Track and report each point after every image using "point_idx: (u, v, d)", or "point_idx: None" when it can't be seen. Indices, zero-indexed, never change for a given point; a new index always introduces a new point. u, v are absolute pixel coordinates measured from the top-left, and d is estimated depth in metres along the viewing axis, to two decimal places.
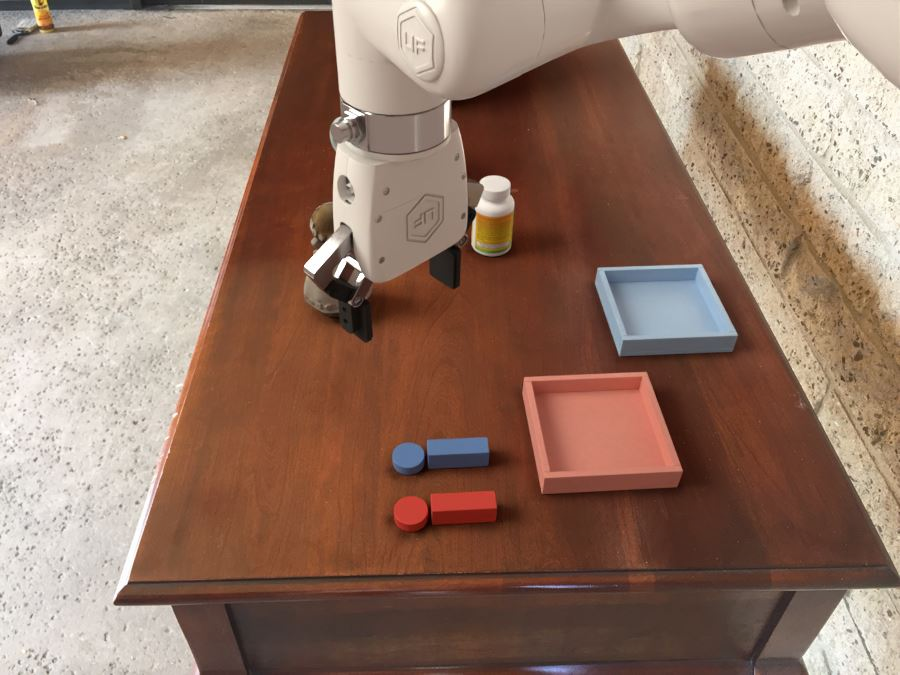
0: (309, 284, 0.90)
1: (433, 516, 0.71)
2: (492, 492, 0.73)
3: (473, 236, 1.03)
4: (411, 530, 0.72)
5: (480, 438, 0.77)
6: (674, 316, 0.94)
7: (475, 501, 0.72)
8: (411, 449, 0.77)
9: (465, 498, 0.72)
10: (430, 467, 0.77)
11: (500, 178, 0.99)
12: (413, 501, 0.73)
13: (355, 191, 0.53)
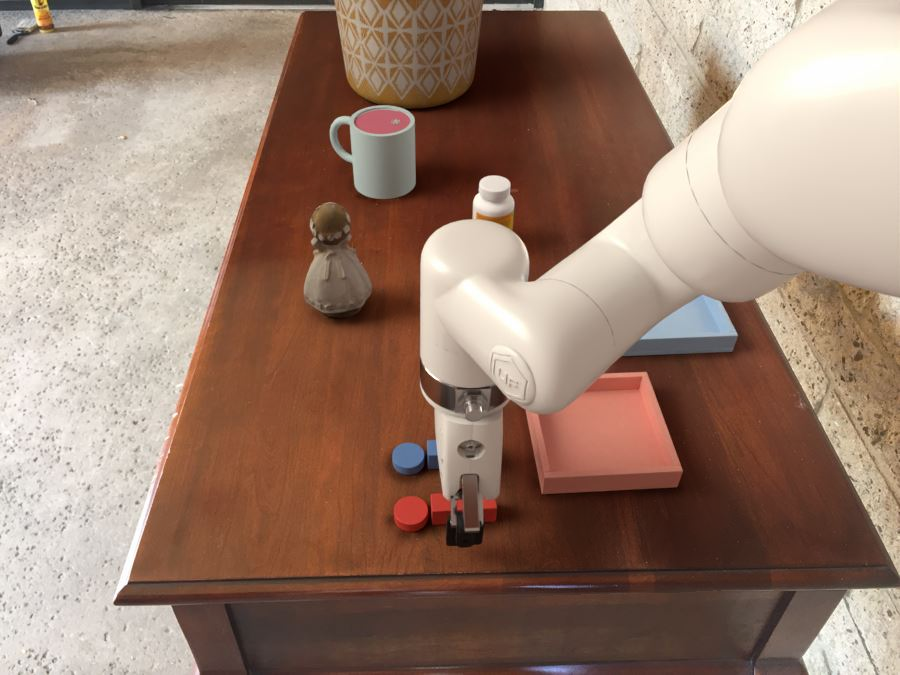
0: (309, 284, 0.90)
1: (433, 516, 0.71)
2: None
3: None
4: (411, 530, 0.72)
5: None
6: (674, 316, 0.94)
7: None
8: (411, 449, 0.77)
9: None
10: (430, 467, 0.77)
11: (500, 178, 0.99)
12: (413, 501, 0.73)
13: (485, 446, 0.60)
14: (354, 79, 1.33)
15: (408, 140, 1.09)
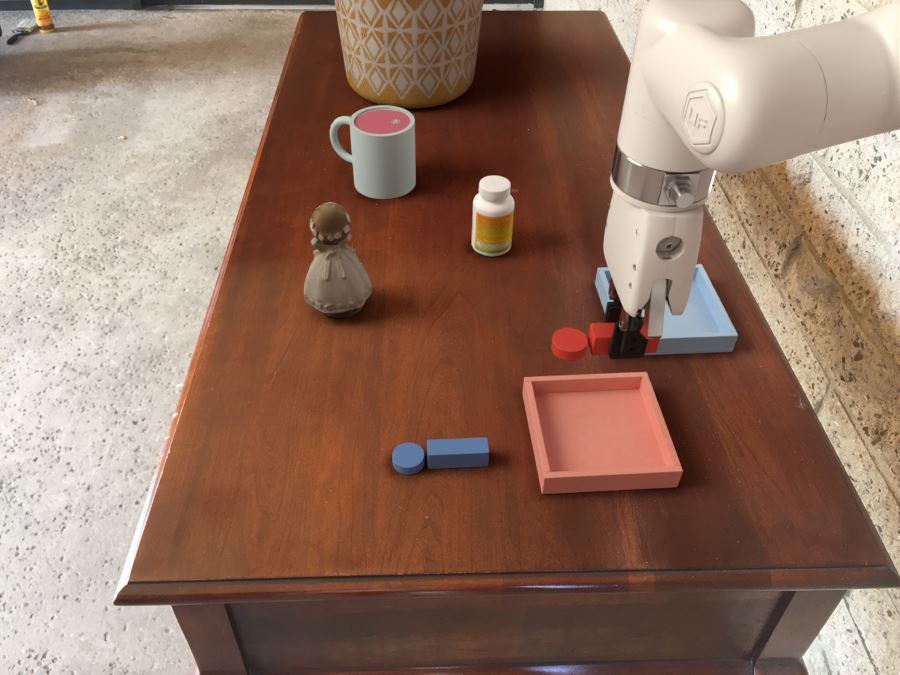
0: (309, 284, 0.90)
1: (595, 344, 0.69)
2: None
3: (473, 236, 1.03)
4: (572, 359, 0.69)
5: (479, 438, 0.77)
6: (674, 316, 0.94)
7: None
8: (411, 449, 0.77)
9: None
10: (430, 467, 0.77)
11: (500, 178, 0.99)
12: (571, 332, 0.71)
13: (686, 243, 0.57)
14: (354, 79, 1.33)
15: (408, 140, 1.09)
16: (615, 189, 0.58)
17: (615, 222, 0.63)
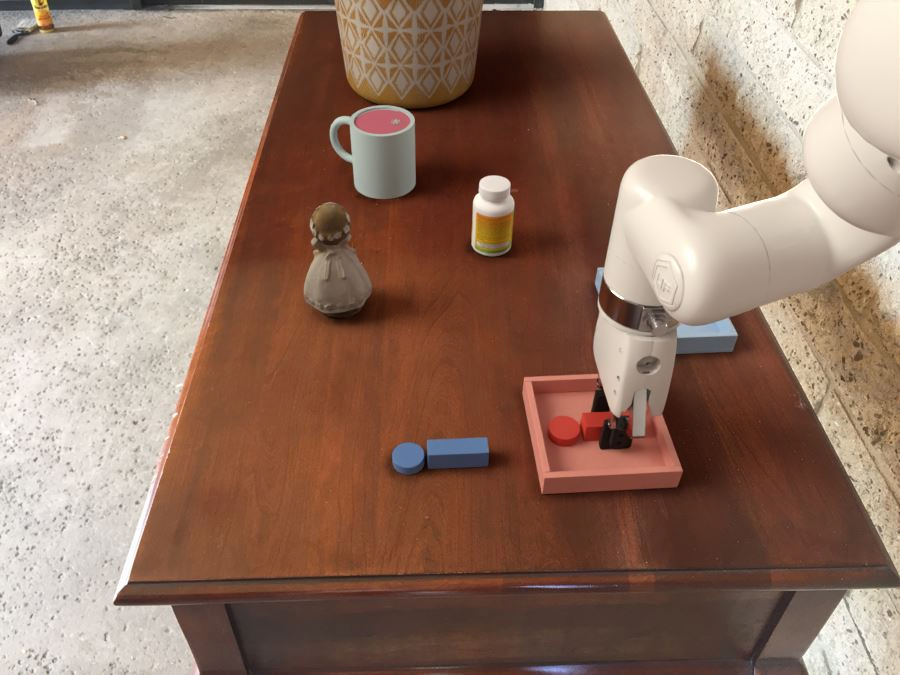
0: (309, 284, 0.90)
1: (586, 432, 0.78)
2: None
3: (473, 236, 1.03)
4: (566, 445, 0.79)
5: (479, 438, 0.77)
6: None
7: None
8: (411, 449, 0.77)
9: None
10: (430, 467, 0.77)
11: (500, 178, 0.99)
12: (565, 420, 0.80)
13: (662, 361, 0.67)
14: (354, 79, 1.33)
15: (408, 140, 1.09)
16: (601, 313, 0.68)
17: (602, 334, 0.72)
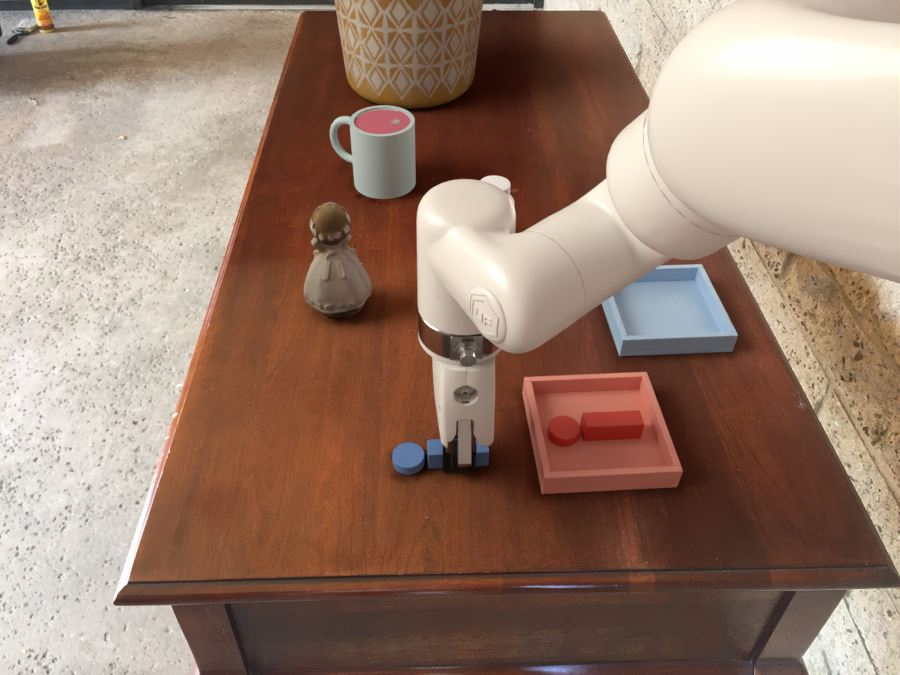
0: (309, 284, 0.90)
1: (586, 432, 0.78)
2: (638, 411, 0.80)
3: None
4: (566, 445, 0.79)
5: None
6: (674, 316, 0.94)
7: (624, 419, 0.79)
8: (411, 449, 0.77)
9: (614, 416, 0.79)
10: (430, 467, 0.77)
11: (500, 178, 0.99)
12: (565, 420, 0.80)
13: (479, 391, 0.64)
14: (354, 79, 1.33)
15: (408, 140, 1.09)
16: (419, 340, 0.66)
17: None
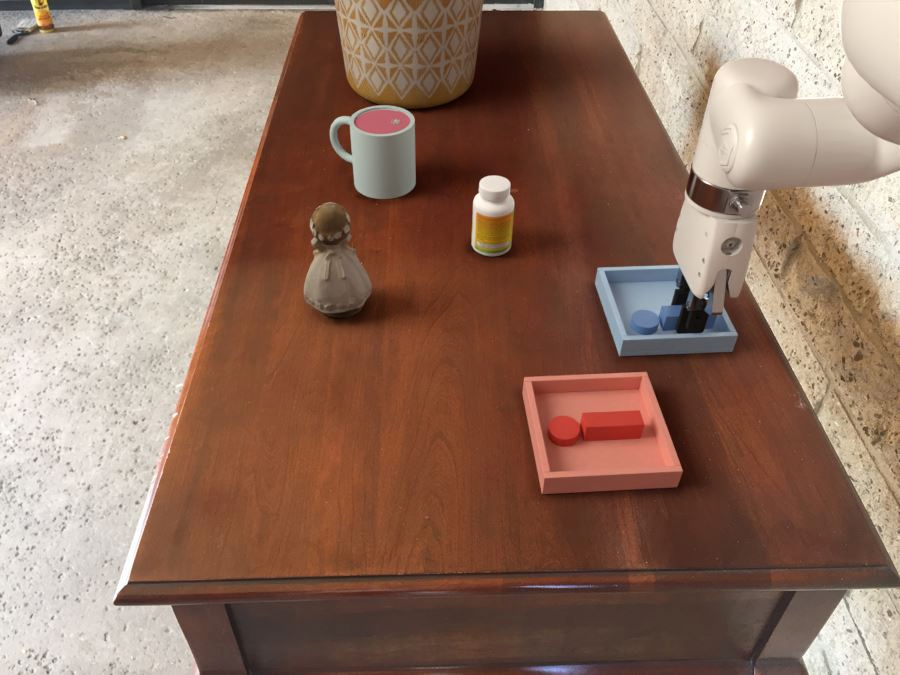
0: (309, 284, 0.90)
1: (586, 432, 0.78)
2: (638, 411, 0.80)
3: (473, 236, 1.03)
4: (566, 445, 0.79)
5: None
6: None
7: (624, 419, 0.79)
8: (647, 314, 0.90)
9: (614, 416, 0.79)
10: (664, 329, 0.90)
11: (500, 178, 0.99)
12: (565, 420, 0.80)
13: (743, 242, 0.77)
14: (354, 79, 1.33)
15: (408, 140, 1.09)
16: (690, 202, 0.78)
17: (686, 227, 0.83)
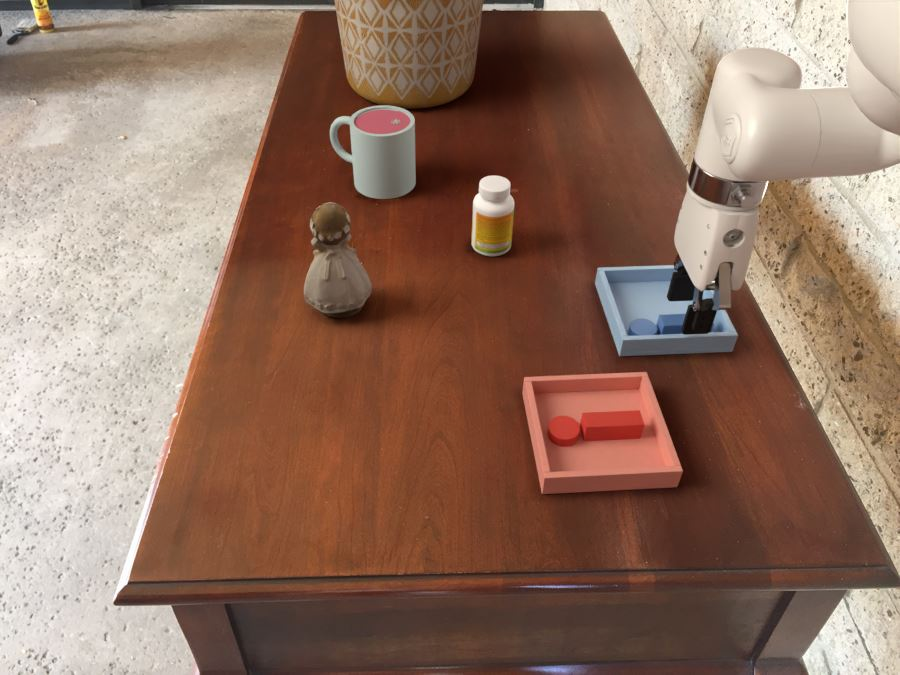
0: (309, 284, 0.90)
1: (586, 432, 0.78)
2: (638, 411, 0.80)
3: (473, 236, 1.03)
4: (566, 445, 0.79)
5: None
6: None
7: (624, 419, 0.79)
8: (645, 323, 0.91)
9: (614, 416, 0.79)
10: None
11: (500, 178, 0.99)
12: (565, 420, 0.80)
13: (746, 234, 0.77)
14: (354, 79, 1.33)
15: (408, 140, 1.09)
16: (692, 194, 0.78)
17: (688, 219, 0.82)
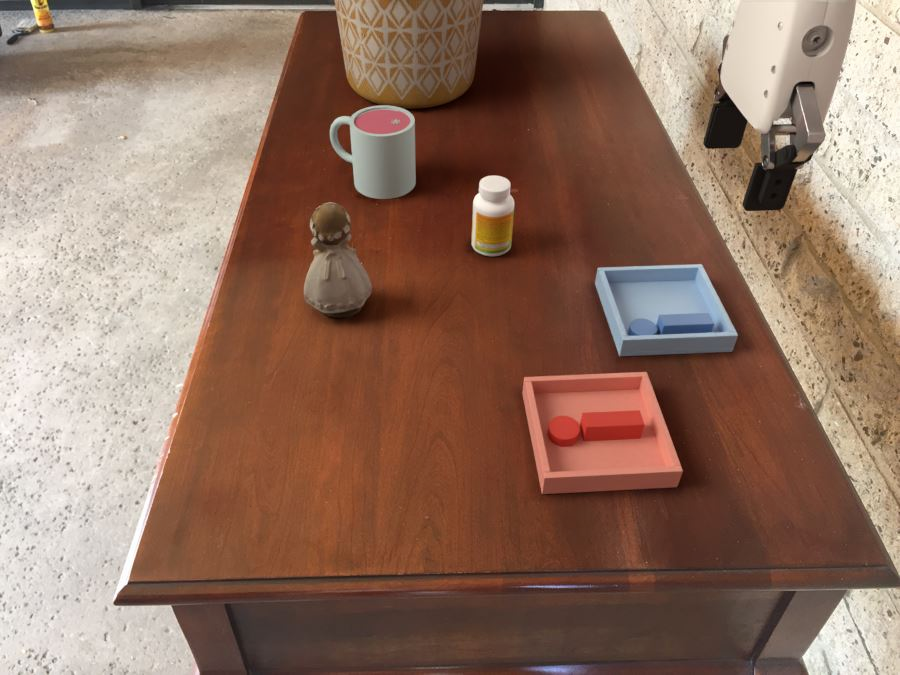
0: (309, 284, 0.90)
1: (586, 432, 0.78)
2: (638, 411, 0.80)
3: (473, 236, 1.03)
4: (566, 445, 0.79)
5: (703, 313, 0.91)
6: None
7: (624, 419, 0.79)
8: (645, 323, 0.91)
9: (614, 416, 0.79)
10: None
11: (500, 178, 0.99)
12: (565, 420, 0.80)
13: (836, 35, 0.52)
14: (354, 79, 1.33)
15: (408, 140, 1.09)
16: None
17: (744, 32, 0.58)
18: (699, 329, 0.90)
